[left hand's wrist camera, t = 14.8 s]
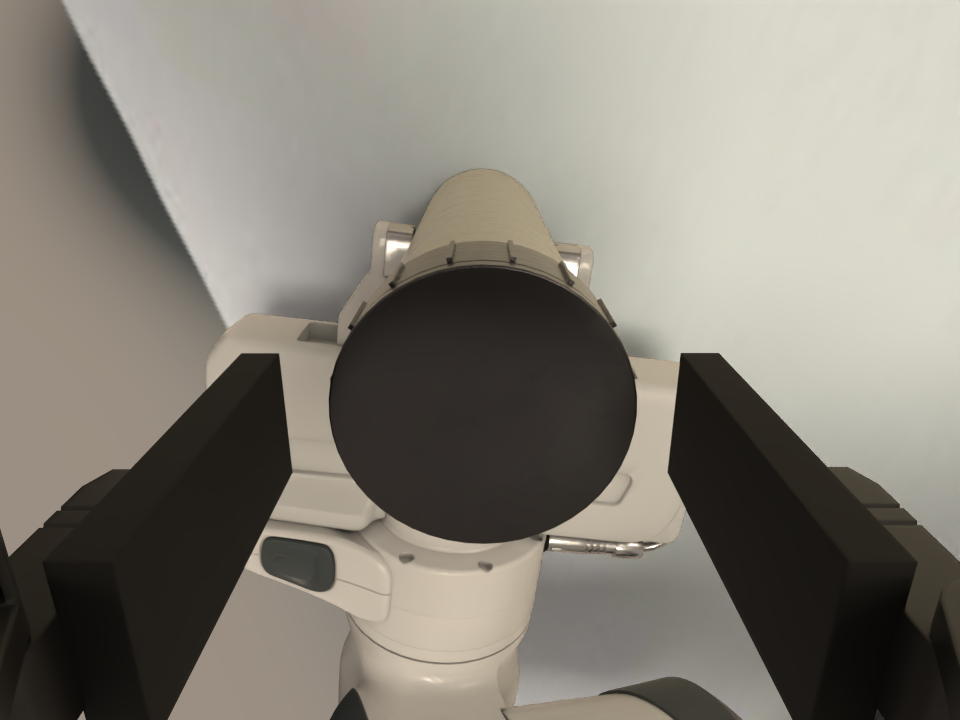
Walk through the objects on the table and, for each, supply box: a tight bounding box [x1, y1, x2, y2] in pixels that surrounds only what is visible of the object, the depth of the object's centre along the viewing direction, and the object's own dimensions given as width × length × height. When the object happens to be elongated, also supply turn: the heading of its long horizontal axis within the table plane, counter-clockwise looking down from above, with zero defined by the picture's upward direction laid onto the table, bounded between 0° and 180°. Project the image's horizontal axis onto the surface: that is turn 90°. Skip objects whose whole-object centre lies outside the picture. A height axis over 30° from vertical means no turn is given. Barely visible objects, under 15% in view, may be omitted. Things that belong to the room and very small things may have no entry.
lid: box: [328, 240, 637, 544], centre depth 14 cm, size 6×6×2 cm
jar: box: [401, 169, 563, 264], centre depth 23 cm, size 5×5×20 cm
